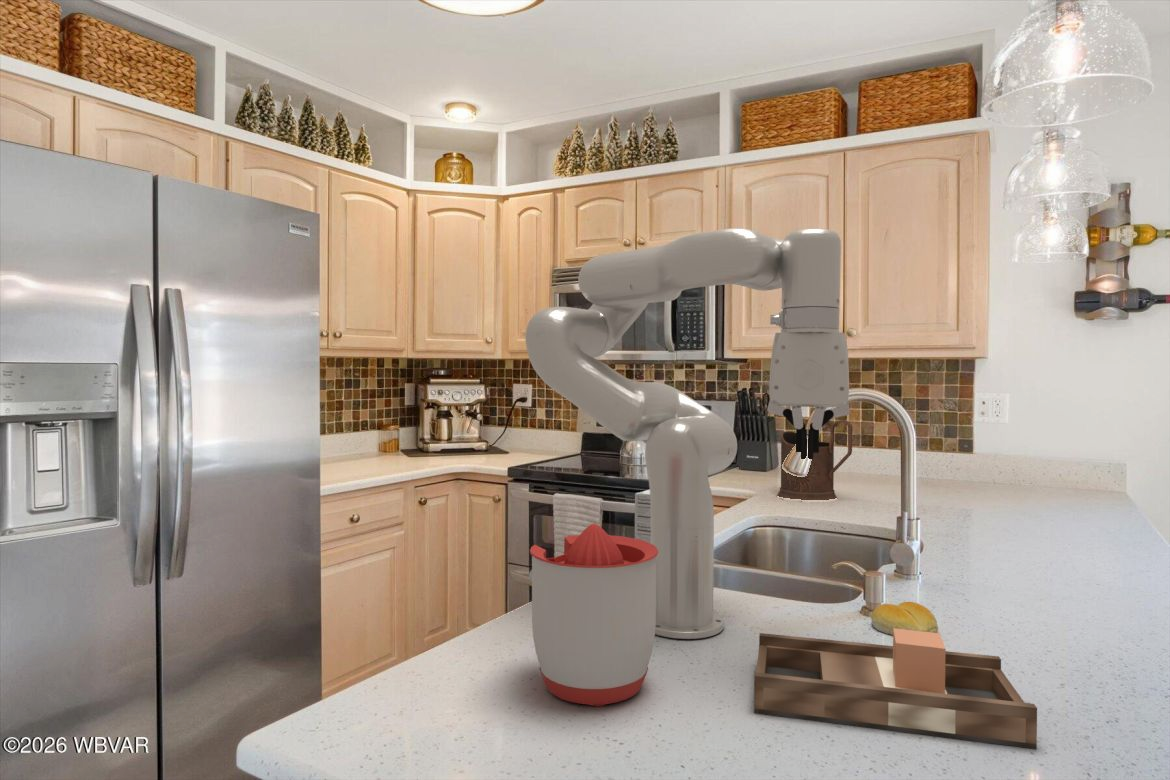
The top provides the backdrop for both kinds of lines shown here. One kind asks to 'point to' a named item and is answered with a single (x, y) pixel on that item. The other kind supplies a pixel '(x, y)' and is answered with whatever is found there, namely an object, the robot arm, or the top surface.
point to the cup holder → (813, 469)
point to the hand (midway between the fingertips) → (807, 457)
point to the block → (918, 660)
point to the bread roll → (903, 618)
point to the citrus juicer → (594, 616)
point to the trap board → (889, 691)
